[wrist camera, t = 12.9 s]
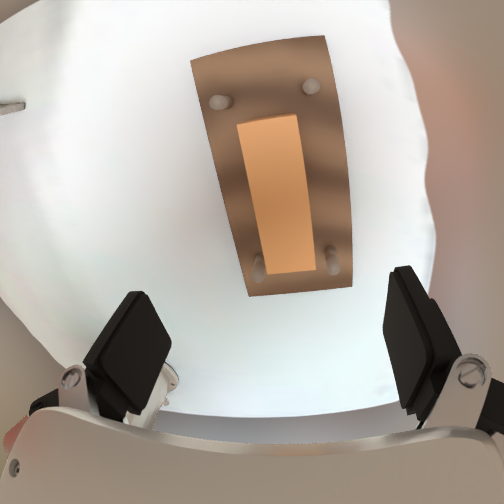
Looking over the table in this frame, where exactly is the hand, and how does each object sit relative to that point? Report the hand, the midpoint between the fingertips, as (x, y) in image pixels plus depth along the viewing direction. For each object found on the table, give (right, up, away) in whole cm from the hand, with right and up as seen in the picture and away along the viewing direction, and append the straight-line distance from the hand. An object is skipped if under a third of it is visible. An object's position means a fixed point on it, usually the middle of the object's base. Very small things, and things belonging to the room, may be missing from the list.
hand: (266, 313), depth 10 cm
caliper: (-41, +26, +13) cm, 50 cm away
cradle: (+2, +9, +15) cm, 18 cm away
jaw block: (+2, +9, +14) cm, 17 cm away
